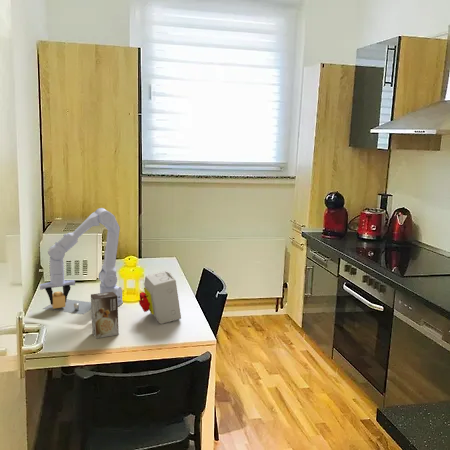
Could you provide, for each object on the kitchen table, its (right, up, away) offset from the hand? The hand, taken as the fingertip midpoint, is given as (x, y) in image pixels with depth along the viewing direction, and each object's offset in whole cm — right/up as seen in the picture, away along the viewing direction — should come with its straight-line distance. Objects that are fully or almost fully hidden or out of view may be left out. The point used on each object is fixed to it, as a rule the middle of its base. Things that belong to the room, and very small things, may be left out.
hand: (58, 302), depth 216 cm
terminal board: (+5, -3, +3) cm, 7 cm away
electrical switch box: (+44, -6, -4) cm, 45 cm away
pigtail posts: (+4, -3, -1) cm, 5 cm away
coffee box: (+26, -9, -22) cm, 35 cm away
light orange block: (0, -1, 0) cm, 1 cm away
